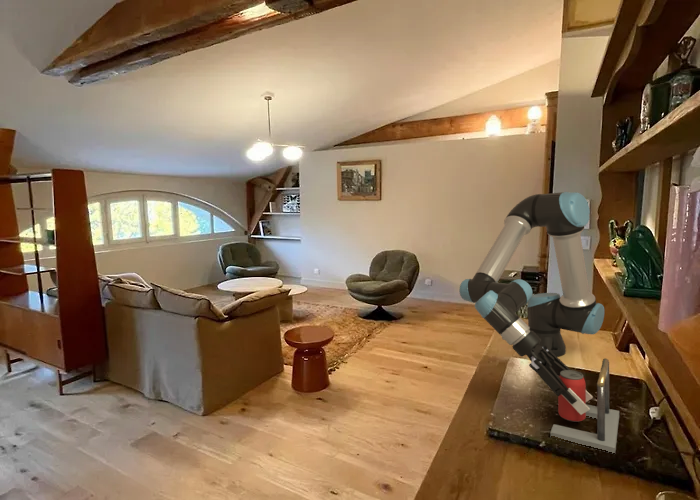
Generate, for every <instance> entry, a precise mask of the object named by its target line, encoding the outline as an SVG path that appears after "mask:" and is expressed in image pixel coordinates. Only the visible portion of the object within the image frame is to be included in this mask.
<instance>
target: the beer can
mask: <svg viewBox="0 0 700 500" xmlns="http://www.w3.org/2000/svg"><path fill="white" fill-rule="evenodd" d="M559 378H560V379H561V380H562V381H563V383H564V384H565V385H566V387H567V388H570V389H571V390H572V391H573V392H574V393H575V394H576V395H577V396H578V397H579V398H580V399H581V400H582V401H583V402H584V403H585V404H587V402H586V390H587V387H586V386H587V384H586V380H585V377H584V374H583V373H582V372H581V371H577V370H572V369H570V370H564V371H561V372H560V376H559ZM557 399H558V400H557V401H558V402H557V403H558V405H557V408H558V410H557V411H558V413H557V414H558V415H559V416H560V417H561V418H562V419H564V420H566V421H568V422H576V423H577V422H578V423H579V422H583V421H585V419H586V418H587V417H586V412H585V413H583V414H582V415H581V414H580V413H579V412H578V411H577V410H576V409H575V408H574V407H573V406H572V405H571V404H570V403H569V402H568V401H567V400H566V399H565V398H564V397H563V396H562V395H560V396H557Z"/></svg>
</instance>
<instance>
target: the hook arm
mask: <svg viewBox="0 0 700 500" xmlns="http://www.w3.org/2000/svg"><path fill="white" fill-rule="evenodd" d="M596 398H597V400H596V402H597V404H596V406H597V419H596V421H597V423H596V426H597V427H596V429H597V432H596V434H597V439H598V440H600V441H605V414H609V409H610V361H609V359H608V358H603V359H602V362H601V366H600V371H599V373H598V379H597V383H596Z"/></svg>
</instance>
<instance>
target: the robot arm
mask: <svg viewBox="0 0 700 500" xmlns="http://www.w3.org/2000/svg"><path fill="white" fill-rule="evenodd" d="M590 211H591V210H590V206H589V203H588V201H587V199H586V197H585V196H584V195H583V194H581V193H580V192H576V191H575V192H572V191H570V192H569V191H564V192H563V191H562V192H554V193H553V192H551V193H539V194H537V193H535V194H532V195H529V196H527V197H526V198H524V199H522V200H521V201H519V202H518V203H517V204H516V205H514V207H513V208H512V209H511V210H510V211H509V212H508V214H507V216H506V217H505V218H504V222H503V224H504V226H503V227H502V229H501V231H500V232H499V234H498V236H497V237H496V239H495V241H494V242H493V244H492V246H491V247H490V249H489V251H488V253H487V254H486V256H485V257H484V258H483V261H482V262H481V264H480V266H479V267H478V269H477V271H476V272H475V274H474V276H473V278H467V279H466V278H465V279H464V280H463V281H461V283H460V285H459V296H460V298H462V300H464V301H466V302H470V303H472V304H474V308H475V310H476V311H477V312H478V313H479V315H480V316H481V318H482V319H484V320H485V321H486V322H487V323H488V324H489V325H490V327H492V328H493V330H495V331H496V332H497V333H498V334H499V336H501V339H502V340H504V341H505V342H506V343H507V344H508V345H509V346H510V345H511V346H512V349H513V350H514V352H516V353H517V354H518V356H519V357H524V356H527V358H528V359H529V360H530V362H531V363H529V364H528V366H529V367H530V368H531V369H532V370H533V371H534V372H535V373H536V374H537V376H538V377H540V379H541V380H542V381H543V382H544V383H545V384H546V386H548V388H550V390H551V392H553V393H554V394H555V396H557V397H558V396H560V395H562V396H563V397H564V398H565V399H566V400H567V401H568V402H569V403H570V404H571V405H572V406H573V407H574V408H575V409H576V410H577V411H578V412H579V413H580V414H581V415H582V414H583V413H585V412H587V411H588V410H590V408H589V407H588V406H587V405H588V404H587V402H589V401H590V400H592V399H593V398H594V396H593V395H592V394H591V393H589V392H588V391H587V389H586V404H587V405H586V404H585V403H584V402H583V401H582V400H581V399H580V398H579V397H578V396H577V395H576V394H575V393H574V392H573V391H572V390H571V389H570V388H567V387H566V385H565V384H564V383H563V381H562V380H561V379H560V378H559V376H560V372H561V371H564V370H571V369H570V368H569V366H567V365H566V364H565V363H564V362H563V361H562V360H561V359H560V358H559V357H561V356H564V355H565V354H566V351H567V347H566V344H565V341H564V338H563V336H562V333H561V330H565V331H570V332H576V333H581V334H582V335H584V334H585V335H595V334H597V333H598V332H599V331H600V329H601V328H602V327H603V326H602V325H603V322H604V318H605V307H604V305H603V304H602V303H599V302H597V300H596V296H595V295H594V294H593V293H592V292H590V287H589V281H588V275H587V269H586V268H587V267H586V262H585V254H584V249H583V241H582V236H581V233H582V232H583V231H584V230H585V226H587V225H588V223H589V221H590V213H591V212H590ZM536 227H538V228H539V227H541V228H542V227H543V228H546V233H547V235H548V236H550V237H551V238H552V240H553V246H554V251H555V256H556V262H557V267H558V275H559V278H560V284H561V290H562V291H561V292H562V295H560V293H557V292H541V293H536V294H533V289H532V287H531V285H530V284H529V283H528V282H527V281H525V280H523V279H519V278H518V279H515V280H512V281H511V282H510V281H509V283H504V282H503V283H502V282H499V281H500V278H501V277H502V275H503V274H504V272H505V270H506V268H507V267H508V265H509V263H510V262H511V259H512V258H513V256H514V254H515V252H516V251H517V249H518V248H519V245H520V244H521V242H522V240H523V238H525V236H527V235H528V234H529V233H530V232H531V231H532V229H534V228H536ZM525 305H527V323H528V324H527V323H526V322H525V321H524V320H523V319H522V318H521V317H520V316H519V315H518V314H517V312H518V311H519V310H520V309H521V308H523V307H524V306H525Z"/></svg>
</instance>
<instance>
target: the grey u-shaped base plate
mask: <svg viewBox="0 0 700 500" xmlns="http://www.w3.org/2000/svg"><path fill="white" fill-rule="evenodd" d="M586 405H587V406H588V407H589V408H590V410H588V411H587V412H586V416H589V417H588V418H590V417H592V418H591V419H594V418H596V419H595V420H597V405H596V406H595V405H591V404H587V403H586ZM619 421H620V410H616V409H610V408H609V414H605V441H600V440H598V439H597V433H594V432H589V431H585V430H580V429H576V428H572V427H568V426H564V425H559V424H553V425H552V427H551V430H550V433H549V434H550V437H551V436H555V437H558V438H561V439H564V440H568V441H571V442H575V443H578V444H582V445H586V446H591V447H594V448H598V449H602V450H606V451H608V452H607V453H609V452H612V453H611V454H613V453H615V454H616V450H617V441H618V440H617V439H618V431H619V430H618V429H619V424H620V423H619Z"/></svg>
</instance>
